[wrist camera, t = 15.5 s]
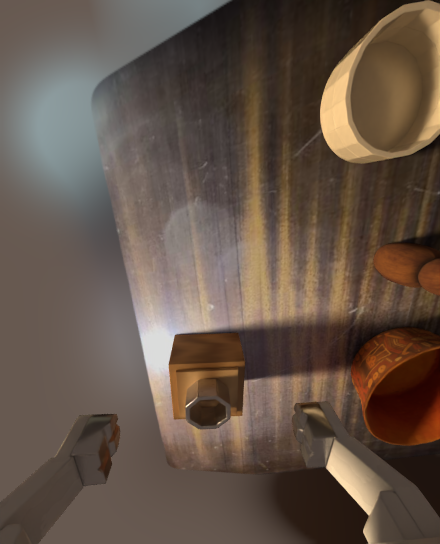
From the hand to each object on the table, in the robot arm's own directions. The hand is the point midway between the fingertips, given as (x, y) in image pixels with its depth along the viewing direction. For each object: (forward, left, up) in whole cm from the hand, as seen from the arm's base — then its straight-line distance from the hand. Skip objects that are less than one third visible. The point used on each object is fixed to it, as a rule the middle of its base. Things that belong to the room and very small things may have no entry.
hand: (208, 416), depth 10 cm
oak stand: (0, -19, -25) cm, 31 cm away
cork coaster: (0, -19, -18) cm, 26 cm away
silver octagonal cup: (0, -19, -18) cm, 26 cm away
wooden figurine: (+29, 0, -25) cm, 38 cm away
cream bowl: (+21, +20, -25) cm, 39 cm away
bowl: (+34, -20, -25) cm, 47 cm away
